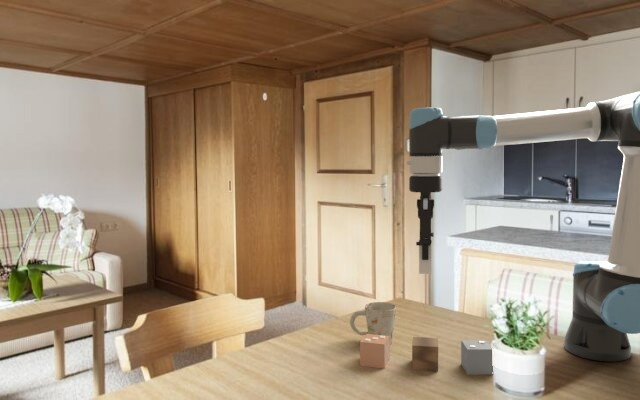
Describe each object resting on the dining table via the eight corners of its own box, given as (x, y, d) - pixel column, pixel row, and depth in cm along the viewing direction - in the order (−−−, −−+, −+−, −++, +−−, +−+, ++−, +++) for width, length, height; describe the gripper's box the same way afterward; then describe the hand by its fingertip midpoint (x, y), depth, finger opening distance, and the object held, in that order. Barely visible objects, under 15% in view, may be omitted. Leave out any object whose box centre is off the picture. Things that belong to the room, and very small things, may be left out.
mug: (395, 348, 139) (395, 311, 138) (347, 345, 142) (347, 309, 141) (396, 337, 147) (397, 302, 146) (351, 335, 150) (351, 300, 149)
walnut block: (437, 362, 130) (437, 338, 130) (438, 371, 125) (438, 347, 124) (412, 360, 132) (412, 336, 131) (412, 370, 126) (412, 345, 125)
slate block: (485, 364, 129) (486, 339, 128) (493, 374, 123) (493, 348, 122) (460, 364, 129) (461, 339, 128) (467, 374, 123) (467, 348, 122)
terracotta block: (389, 359, 132) (389, 335, 132) (384, 368, 127) (384, 343, 126) (366, 356, 134) (366, 332, 134) (360, 365, 129) (360, 340, 128)
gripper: (410, 173, 136) (410, 258, 138) (407, 177, 114) (407, 279, 116) (440, 172, 135) (440, 259, 137) (443, 177, 112) (442, 280, 114)
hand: (425, 268), depth 126 cm, fingers open, 10 cm apart
